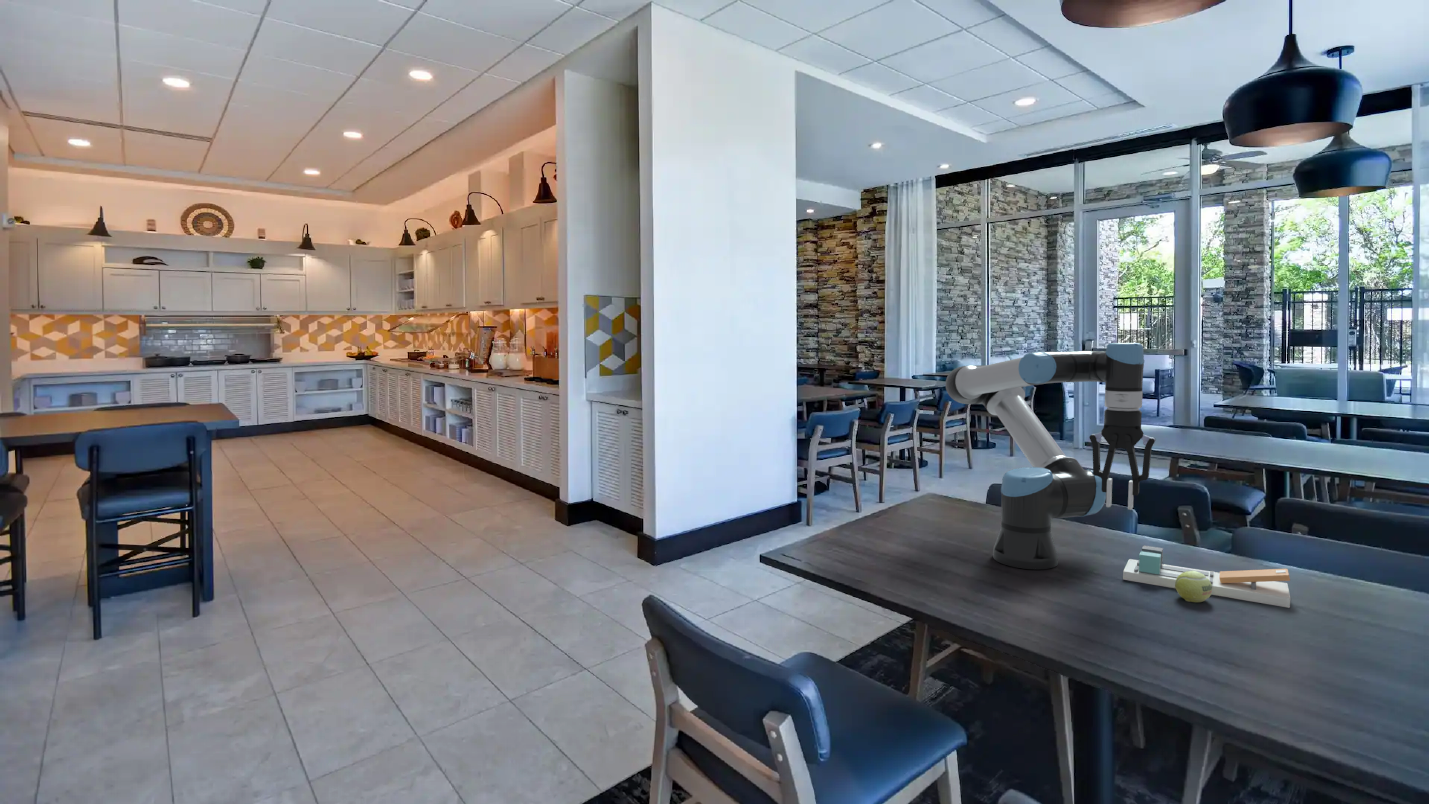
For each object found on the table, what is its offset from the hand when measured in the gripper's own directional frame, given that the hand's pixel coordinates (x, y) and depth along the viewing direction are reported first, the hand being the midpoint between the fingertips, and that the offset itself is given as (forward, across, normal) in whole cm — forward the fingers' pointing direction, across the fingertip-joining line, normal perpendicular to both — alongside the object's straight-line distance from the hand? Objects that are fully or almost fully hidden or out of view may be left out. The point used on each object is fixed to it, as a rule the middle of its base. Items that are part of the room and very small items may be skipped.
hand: (1119, 507), depth 161 cm
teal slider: (+14, +6, 0) cm, 16 cm away
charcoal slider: (+14, +6, +6) cm, 17 cm away
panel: (+17, +16, +3) cm, 24 cm away
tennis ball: (+17, +15, -8) cm, 24 cm away
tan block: (+12, +26, +2) cm, 28 cm away
